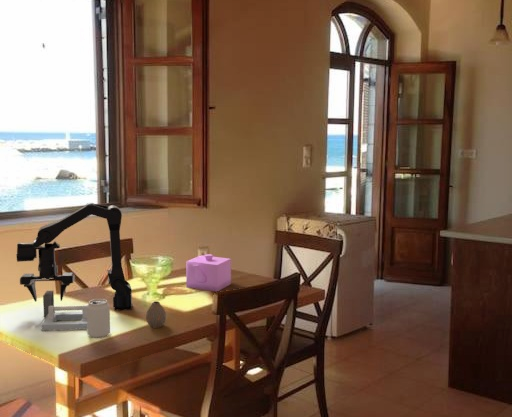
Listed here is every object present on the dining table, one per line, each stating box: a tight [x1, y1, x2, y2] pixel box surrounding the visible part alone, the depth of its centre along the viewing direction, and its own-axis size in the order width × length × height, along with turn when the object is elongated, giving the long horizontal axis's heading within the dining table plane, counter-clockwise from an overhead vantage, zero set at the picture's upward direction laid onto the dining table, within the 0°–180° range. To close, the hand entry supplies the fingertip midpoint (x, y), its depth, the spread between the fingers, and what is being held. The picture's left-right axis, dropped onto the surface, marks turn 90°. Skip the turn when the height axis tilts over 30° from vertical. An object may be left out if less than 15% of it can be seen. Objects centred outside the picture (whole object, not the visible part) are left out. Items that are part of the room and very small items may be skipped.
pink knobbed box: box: [185, 253, 232, 292], centre depth 264 cm, size 15×25×14 cm, turn 156°
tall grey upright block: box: [42, 290, 55, 317], centre depth 226 cm, size 2×7×8 cm, turn 8°
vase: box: [145, 301, 167, 329], centre depth 214 cm, size 7×7×9 cm
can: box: [86, 298, 111, 339], centre depth 204 cm, size 8×8×12 cm
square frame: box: [41, 304, 88, 332], centre depth 215 cm, size 16×13×6 cm
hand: (48, 300), depth 226 cm, fingers open, 9 cm apart
